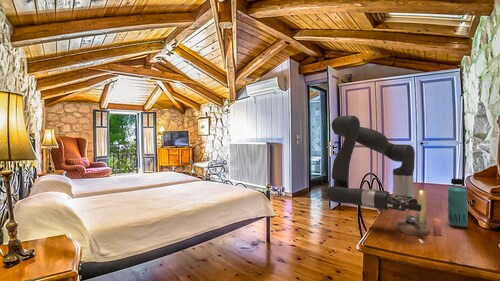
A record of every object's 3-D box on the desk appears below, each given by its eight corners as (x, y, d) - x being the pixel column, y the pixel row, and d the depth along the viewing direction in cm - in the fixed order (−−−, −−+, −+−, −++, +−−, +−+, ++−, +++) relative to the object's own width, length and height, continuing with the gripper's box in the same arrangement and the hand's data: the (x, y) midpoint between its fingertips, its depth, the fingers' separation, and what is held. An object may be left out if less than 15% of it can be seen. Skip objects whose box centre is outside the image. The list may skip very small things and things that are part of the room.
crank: (403, 220, 105) (402, 184, 105) (416, 220, 104) (416, 185, 104) (416, 230, 93) (415, 191, 93) (431, 231, 92) (430, 191, 92)
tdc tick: (418, 239, 93) (418, 239, 93) (421, 239, 93) (421, 239, 93) (420, 242, 90) (420, 242, 90) (423, 243, 90) (423, 242, 90)
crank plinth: (391, 226, 107) (391, 219, 107) (417, 225, 108) (417, 218, 108) (407, 236, 96) (407, 228, 96) (436, 235, 97) (436, 227, 97)
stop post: (432, 233, 98) (431, 218, 98) (438, 233, 98) (438, 218, 98) (436, 236, 96) (436, 220, 96) (443, 235, 96) (442, 220, 96)
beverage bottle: (458, 224, 108) (458, 177, 107) (473, 229, 101) (472, 179, 101) (443, 224, 107) (443, 177, 107) (457, 230, 101) (456, 180, 101)
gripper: (369, 193, 99) (419, 199, 88) (380, 187, 109) (426, 191, 98) (370, 212, 99) (419, 220, 88) (381, 204, 109) (426, 211, 98)
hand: (423, 205), depth 93 cm, fingers open, 8 cm apart
